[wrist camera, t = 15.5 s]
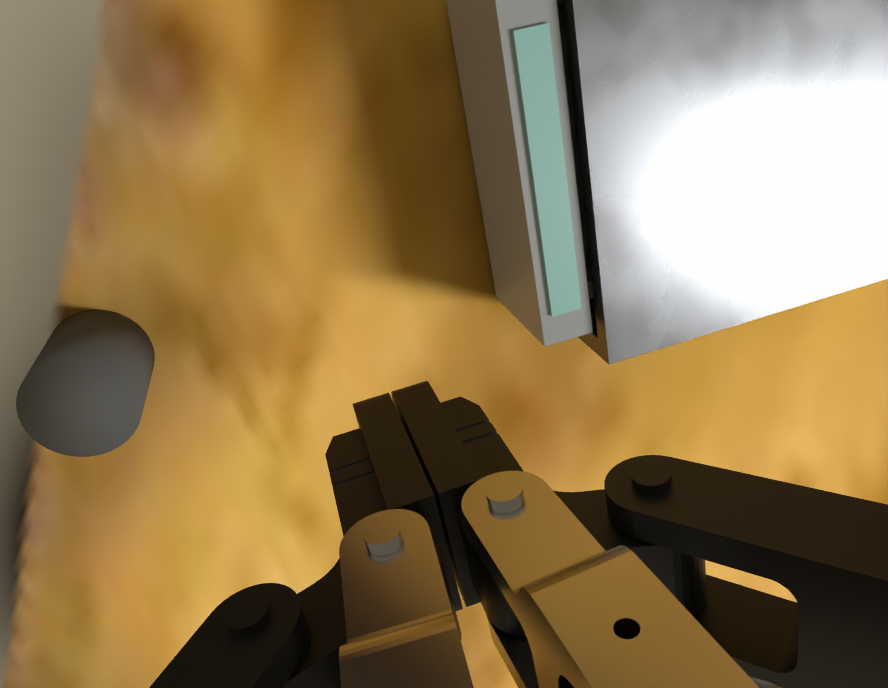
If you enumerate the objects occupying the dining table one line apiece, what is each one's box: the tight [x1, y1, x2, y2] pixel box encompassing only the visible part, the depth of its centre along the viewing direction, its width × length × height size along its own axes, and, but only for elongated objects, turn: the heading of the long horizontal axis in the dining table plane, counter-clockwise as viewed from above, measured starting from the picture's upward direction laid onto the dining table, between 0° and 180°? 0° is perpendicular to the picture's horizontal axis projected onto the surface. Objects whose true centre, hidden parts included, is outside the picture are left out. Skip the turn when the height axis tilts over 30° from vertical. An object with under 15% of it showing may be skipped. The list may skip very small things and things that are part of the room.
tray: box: [446, 0, 594, 346], centre depth 28 cm, size 12×15×6 cm
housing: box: [562, 0, 888, 364], centre depth 29 cm, size 15×14×6 cm
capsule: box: [16, 310, 154, 457], centre depth 27 cm, size 4×4×4 cm
